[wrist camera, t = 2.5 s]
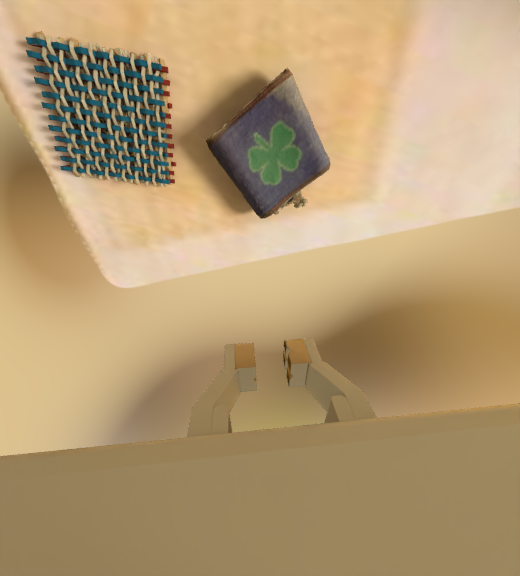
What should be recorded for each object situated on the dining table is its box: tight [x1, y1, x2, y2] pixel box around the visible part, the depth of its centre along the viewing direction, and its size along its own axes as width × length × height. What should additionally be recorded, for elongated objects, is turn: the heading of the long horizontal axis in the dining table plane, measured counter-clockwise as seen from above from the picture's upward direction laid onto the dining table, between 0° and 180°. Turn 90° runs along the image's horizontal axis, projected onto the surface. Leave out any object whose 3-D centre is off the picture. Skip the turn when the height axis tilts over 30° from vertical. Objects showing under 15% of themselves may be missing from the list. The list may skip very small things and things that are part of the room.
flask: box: [206, 68, 330, 219], centre depth 23 cm, size 9×3×11 cm
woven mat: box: [26, 31, 176, 187], centre depth 21 cm, size 10×11×2 cm
